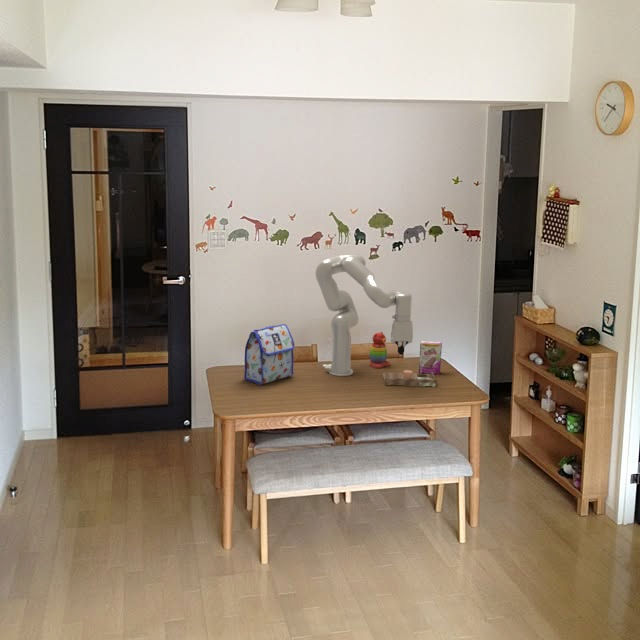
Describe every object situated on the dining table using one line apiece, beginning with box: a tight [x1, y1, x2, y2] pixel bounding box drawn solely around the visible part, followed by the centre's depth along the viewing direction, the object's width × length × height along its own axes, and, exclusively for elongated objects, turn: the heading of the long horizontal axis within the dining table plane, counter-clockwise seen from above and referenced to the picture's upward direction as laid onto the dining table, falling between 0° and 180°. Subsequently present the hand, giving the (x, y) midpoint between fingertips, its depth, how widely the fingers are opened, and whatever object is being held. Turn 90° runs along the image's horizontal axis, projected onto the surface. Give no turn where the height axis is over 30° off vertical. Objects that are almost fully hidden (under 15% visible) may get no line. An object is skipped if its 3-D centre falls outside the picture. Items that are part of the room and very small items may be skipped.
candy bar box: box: [418, 340, 443, 375], centre depth 440 cm, size 11×5×16 cm, turn 84°
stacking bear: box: [368, 331, 391, 369], centre depth 452 cm, size 11×10×18 cm
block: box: [403, 369, 414, 379], centre depth 423 cm, size 4×4×4 cm
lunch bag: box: [243, 323, 295, 386], centre depth 424 cm, size 23×17×27 cm
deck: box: [382, 371, 437, 388], centre depth 426 cm, size 25×15×4 cm, turn 89°
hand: (400, 354), depth 421 cm, fingers closed
